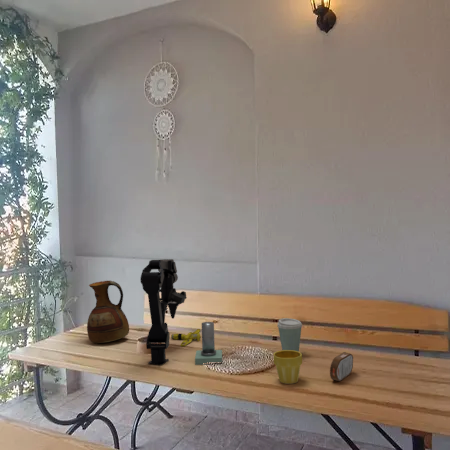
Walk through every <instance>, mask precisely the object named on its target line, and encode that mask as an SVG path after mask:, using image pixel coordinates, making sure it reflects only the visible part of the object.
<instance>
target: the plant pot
mask: <svg viewBox="0 0 450 450" xmlns="http://www.w3.org/2000/svg"><path fill="white" fill-rule="evenodd" d="M272 358H273V364H274V365H275V366H276V367H275V368H276V372H277V375H278V380H279V383H282V384H286V385H291V384H296V383H298V381H299V375H300V369H301V365H302V364H303V354H302V352H300V351H299V352H298V351H294V350H282V349H280V350H278V351H275V352H273V357H272Z"/></svg>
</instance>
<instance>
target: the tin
mask: <svg viewBox="0 0 450 450" xmlns="http://www.w3.org/2000/svg"><path fill="white" fill-rule="evenodd" d="M353 365H354V356H353V354H351V353H349V352H346V351H344V352H342V353H340V354H338V355H335V357H333V359H332V361H331V363H330V368H329V377H330V379H331V380H332V381H337V382H340V381H342V380H344V379H345V378H347V377H349V375H351V374H352V371H353V368H354V366H353Z"/></svg>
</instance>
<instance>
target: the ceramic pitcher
mask: <svg viewBox="0 0 450 450" xmlns="http://www.w3.org/2000/svg"><path fill="white" fill-rule="evenodd" d="M88 286H89V287H90V288H91V289H92V290H93V291H94V297H95V300H96V302H95V306H94V308H93V309H91V312H90V313H89V316H88V318H87V322H86V323H87V325H86V331H87V335H88V336H87V337H88V340H89V341H90V342H92V343H97V344H100V343H101V344H102V343H109V342H113V341H114V342H115V341H117V340H120V339H123V338H124V337H127V336H128V335H129V333H130V324H129V320H128V318H127V315H126V314H125V312H124V311H123V309H122V306H123V301H124V293H123V289H122V286H121V285H120V284H119V283H118V282H116V281H114V280H113V281H112V280H103V281H102V280H101V281H96V282H93V283H90V284H89V285H88ZM111 286H114V287H116V288H117V289H118V291H119V293H120V295H119V296H120V297H119V300H118V303H117V304H115V303H113V302H112V301H111V299H110V296H109V287H111Z"/></svg>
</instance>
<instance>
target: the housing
mask: <svg viewBox="0 0 450 450" xmlns="http://www.w3.org/2000/svg"><path fill="white" fill-rule="evenodd" d="M215 343H216V342H215V322H213V321H203V322H201V350H202V351H201V355H202V356H214V355H216V351H215V350H216V347H215V346H216V345H215Z"/></svg>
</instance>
